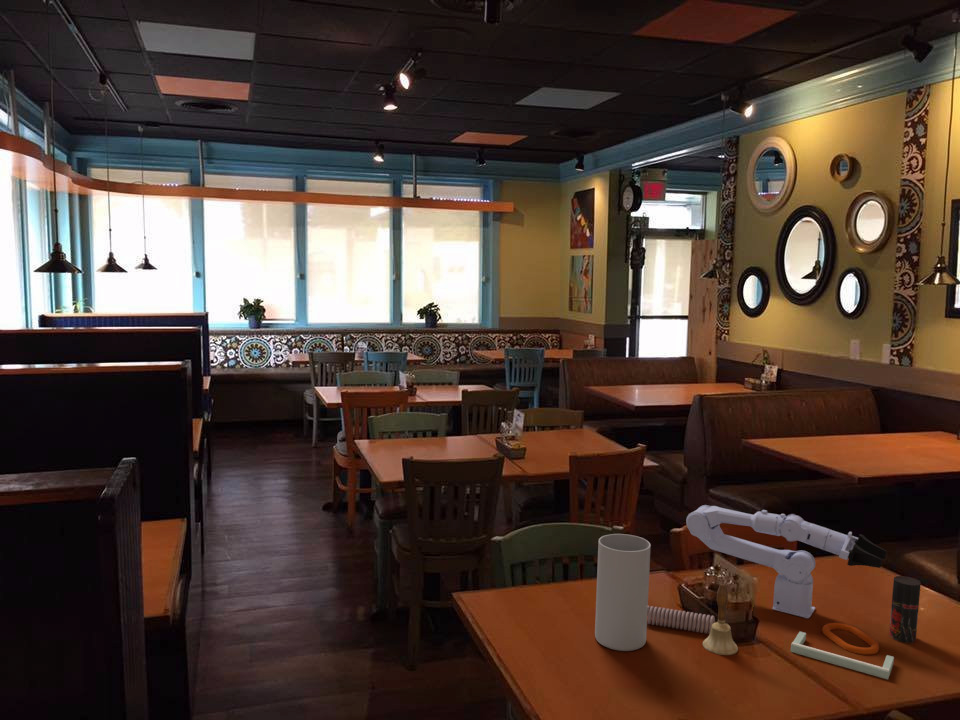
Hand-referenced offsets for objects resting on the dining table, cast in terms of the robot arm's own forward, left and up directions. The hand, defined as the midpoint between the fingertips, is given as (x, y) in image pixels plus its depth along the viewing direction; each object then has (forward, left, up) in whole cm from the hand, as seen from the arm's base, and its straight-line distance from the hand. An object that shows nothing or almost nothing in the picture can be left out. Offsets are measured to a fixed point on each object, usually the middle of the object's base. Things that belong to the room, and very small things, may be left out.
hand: (883, 559), depth 193 cm
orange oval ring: (-5, -10, -20) cm, 23 cm away
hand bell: (-30, -34, -19) cm, 49 cm away
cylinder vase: (-51, -46, -19) cm, 71 cm away
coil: (-42, -30, -20) cm, 55 cm away
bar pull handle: (-5, -21, -19) cm, 29 cm away
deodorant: (+6, 0, -19) cm, 20 cm away
